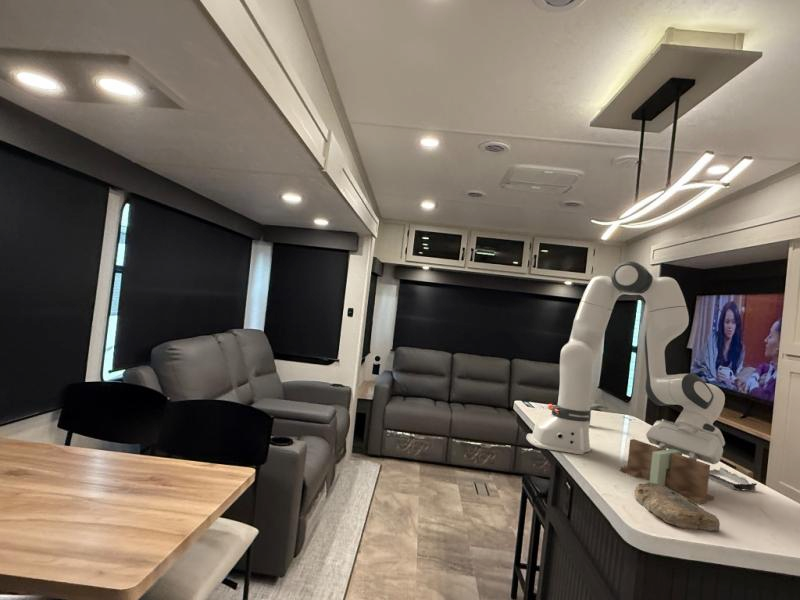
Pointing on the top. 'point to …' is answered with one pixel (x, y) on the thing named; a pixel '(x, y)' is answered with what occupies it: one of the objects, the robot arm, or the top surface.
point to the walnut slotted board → (671, 471)
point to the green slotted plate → (661, 465)
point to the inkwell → (597, 406)
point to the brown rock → (675, 508)
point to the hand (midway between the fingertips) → (671, 461)
